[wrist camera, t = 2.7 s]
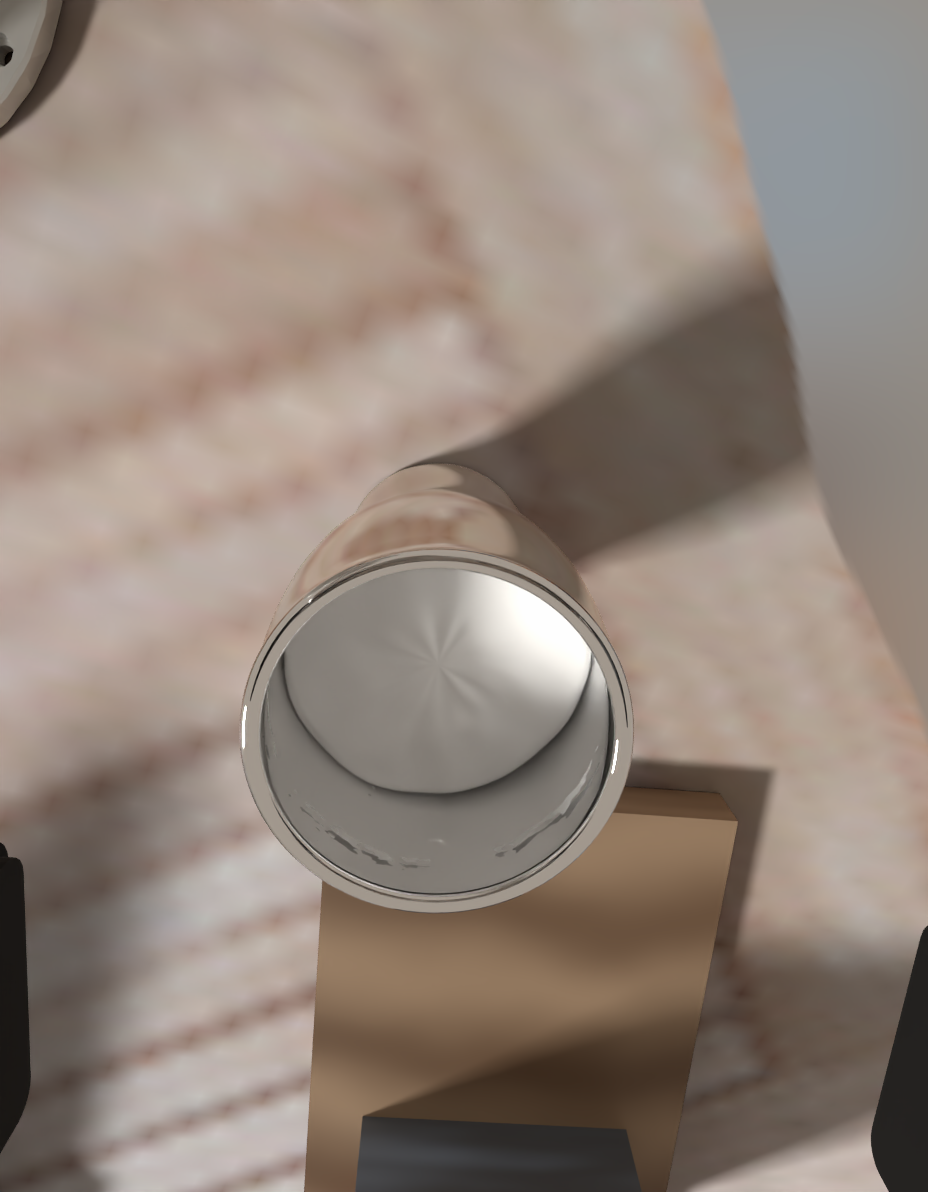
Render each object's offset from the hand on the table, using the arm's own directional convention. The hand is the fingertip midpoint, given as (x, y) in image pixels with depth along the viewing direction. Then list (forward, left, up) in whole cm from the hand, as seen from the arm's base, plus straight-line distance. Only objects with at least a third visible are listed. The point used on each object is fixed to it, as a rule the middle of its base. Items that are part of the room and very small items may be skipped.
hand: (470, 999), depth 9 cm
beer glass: (0, 0, -21) cm, 21 cm away
